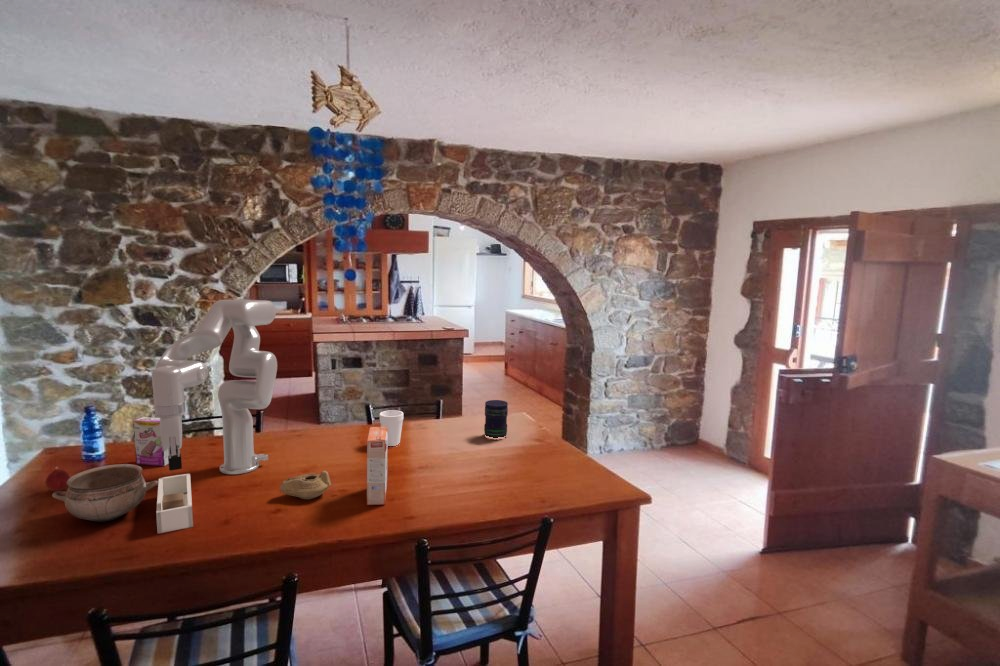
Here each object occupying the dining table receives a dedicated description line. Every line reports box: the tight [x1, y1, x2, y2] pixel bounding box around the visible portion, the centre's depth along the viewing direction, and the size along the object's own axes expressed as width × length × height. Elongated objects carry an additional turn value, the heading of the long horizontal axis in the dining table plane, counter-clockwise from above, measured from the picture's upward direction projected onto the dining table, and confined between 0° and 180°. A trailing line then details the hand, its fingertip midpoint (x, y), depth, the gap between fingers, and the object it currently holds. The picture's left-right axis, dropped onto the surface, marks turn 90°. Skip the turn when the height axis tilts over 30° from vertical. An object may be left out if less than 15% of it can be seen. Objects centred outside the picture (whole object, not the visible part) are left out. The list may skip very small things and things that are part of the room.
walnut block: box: [162, 492, 184, 510], centre depth 152 cm, size 5×5×5 cm
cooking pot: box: [51, 463, 159, 523], centre depth 155 cm, size 25×19×12 cm
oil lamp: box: [279, 470, 332, 500], centre depth 172 cm, size 11×15×8 cm
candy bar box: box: [132, 416, 169, 467], centre depth 195 cm, size 11×5×16 cm, turn 84°
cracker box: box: [366, 426, 389, 506], centre depth 173 cm, size 14×6×21 cm, turn 9°
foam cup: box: [379, 409, 404, 447], centre depth 221 cm, size 10×9×13 cm
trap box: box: [155, 473, 194, 534], centre depth 160 cm, size 8×26×6 cm, turn 30°
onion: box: [45, 466, 71, 492], centre depth 171 cm, size 6×6×8 cm
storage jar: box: [484, 399, 509, 438], centre depth 234 cm, size 10×10×15 cm
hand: (175, 468), depth 161 cm, fingers closed
